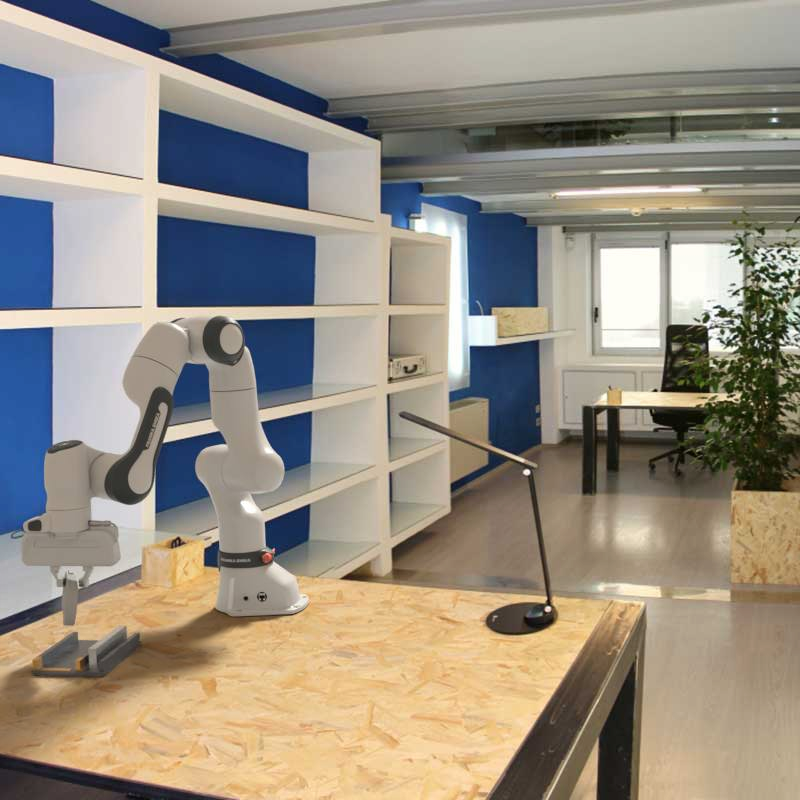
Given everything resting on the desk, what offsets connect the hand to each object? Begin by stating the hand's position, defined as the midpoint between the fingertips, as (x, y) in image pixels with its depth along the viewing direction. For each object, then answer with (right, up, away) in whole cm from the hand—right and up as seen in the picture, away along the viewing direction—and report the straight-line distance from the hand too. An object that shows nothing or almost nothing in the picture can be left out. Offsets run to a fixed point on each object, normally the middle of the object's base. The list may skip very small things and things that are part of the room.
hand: (73, 586), depth 211 cm
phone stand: (+3, -15, +1) cm, 16 cm away
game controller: (-1, -6, 0) cm, 6 cm away
